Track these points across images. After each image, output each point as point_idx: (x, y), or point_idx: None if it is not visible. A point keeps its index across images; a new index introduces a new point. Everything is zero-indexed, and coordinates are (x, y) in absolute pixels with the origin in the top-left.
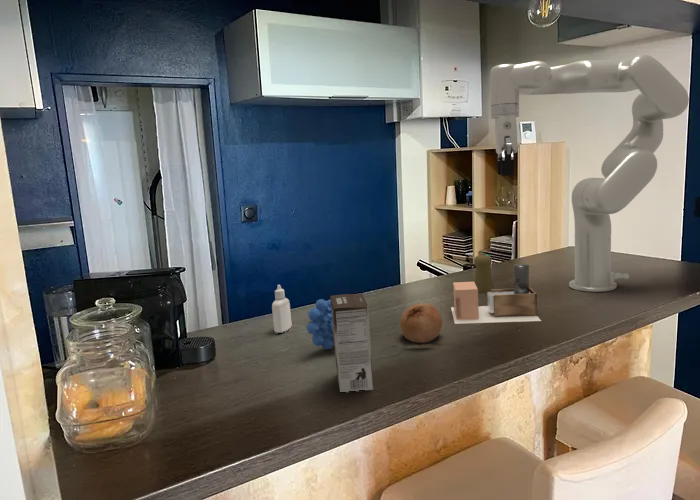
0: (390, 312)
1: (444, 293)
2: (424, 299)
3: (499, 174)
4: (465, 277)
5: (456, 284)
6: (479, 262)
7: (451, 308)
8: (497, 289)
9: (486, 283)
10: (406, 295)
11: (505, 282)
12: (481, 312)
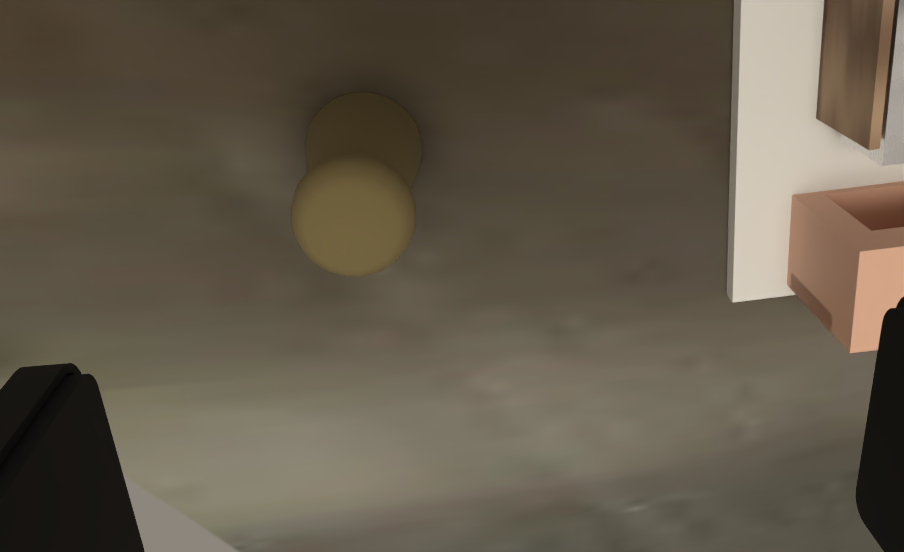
0: (709, 517)
1: (403, 344)
2: (515, 420)
3: (130, 540)
4: (13, 259)
5: None
6: (411, 237)
7: (752, 298)
8: (879, 114)
9: (412, 151)
10: (437, 500)
11: (127, 15)
12: (843, 165)
